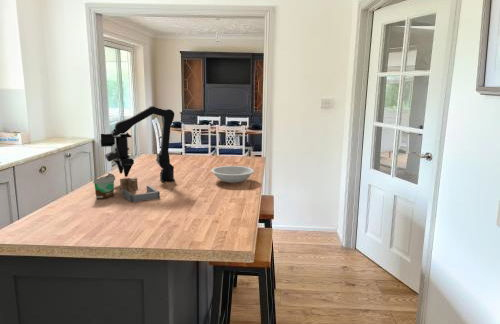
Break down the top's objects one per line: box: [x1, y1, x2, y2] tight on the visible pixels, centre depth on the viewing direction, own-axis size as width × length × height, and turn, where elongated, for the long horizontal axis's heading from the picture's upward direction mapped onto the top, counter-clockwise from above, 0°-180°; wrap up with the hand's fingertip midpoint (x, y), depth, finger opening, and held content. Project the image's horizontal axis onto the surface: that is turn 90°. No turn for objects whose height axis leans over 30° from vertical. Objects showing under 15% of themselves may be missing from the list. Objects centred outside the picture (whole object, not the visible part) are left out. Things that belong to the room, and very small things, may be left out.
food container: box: [93, 172, 116, 200], centre depth 171 cm, size 12×6×10 cm, turn 168°
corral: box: [121, 185, 161, 203], centre depth 173 cm, size 13×14×3 cm
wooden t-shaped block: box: [119, 176, 139, 192], centre depth 185 cm, size 8×8×5 cm
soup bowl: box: [211, 165, 255, 184], centre depth 205 cm, size 24×24×7 cm
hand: (123, 175), depth 194 cm, fingers open, 9 cm apart
